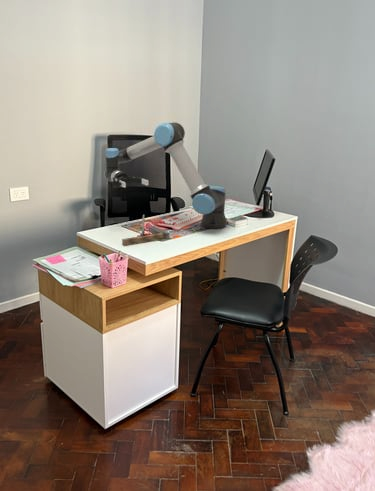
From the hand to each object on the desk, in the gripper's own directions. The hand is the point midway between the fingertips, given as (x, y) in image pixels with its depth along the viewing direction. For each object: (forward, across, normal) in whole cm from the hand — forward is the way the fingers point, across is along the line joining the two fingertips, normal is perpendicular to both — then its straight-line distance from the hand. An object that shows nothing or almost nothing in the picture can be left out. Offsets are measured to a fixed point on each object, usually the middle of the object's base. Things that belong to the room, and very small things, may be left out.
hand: (136, 184), depth 235 cm
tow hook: (+14, +1, -26) cm, 30 cm away
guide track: (+13, +6, -26) cm, 30 cm away
